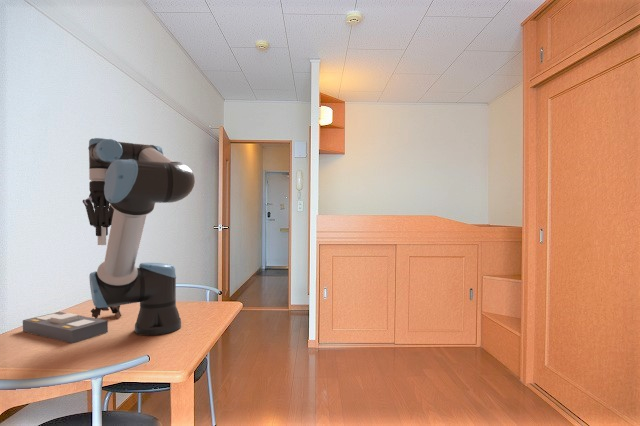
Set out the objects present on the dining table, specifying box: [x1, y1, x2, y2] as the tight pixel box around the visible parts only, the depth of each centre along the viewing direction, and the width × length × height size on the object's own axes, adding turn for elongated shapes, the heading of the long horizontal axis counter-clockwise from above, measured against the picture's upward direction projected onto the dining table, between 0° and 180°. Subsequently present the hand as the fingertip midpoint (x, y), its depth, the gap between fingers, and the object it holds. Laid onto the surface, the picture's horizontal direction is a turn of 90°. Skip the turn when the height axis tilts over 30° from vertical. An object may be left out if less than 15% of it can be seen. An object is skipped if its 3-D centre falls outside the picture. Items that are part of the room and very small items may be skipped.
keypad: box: [22, 311, 109, 344], centre depth 132 cm, size 28×12×4 cm, turn 64°
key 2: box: [66, 319, 95, 327], centre depth 128 cm, size 6×6×3 cm
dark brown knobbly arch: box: [90, 305, 122, 320], centre depth 149 cm, size 12×10×8 cm
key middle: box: [50, 312, 80, 324], centre depth 132 cm, size 6×6×3 cm
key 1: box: [36, 313, 58, 321], centre depth 136 cm, size 6×6×3 cm
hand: (101, 244), depth 141 cm, fingers closed
